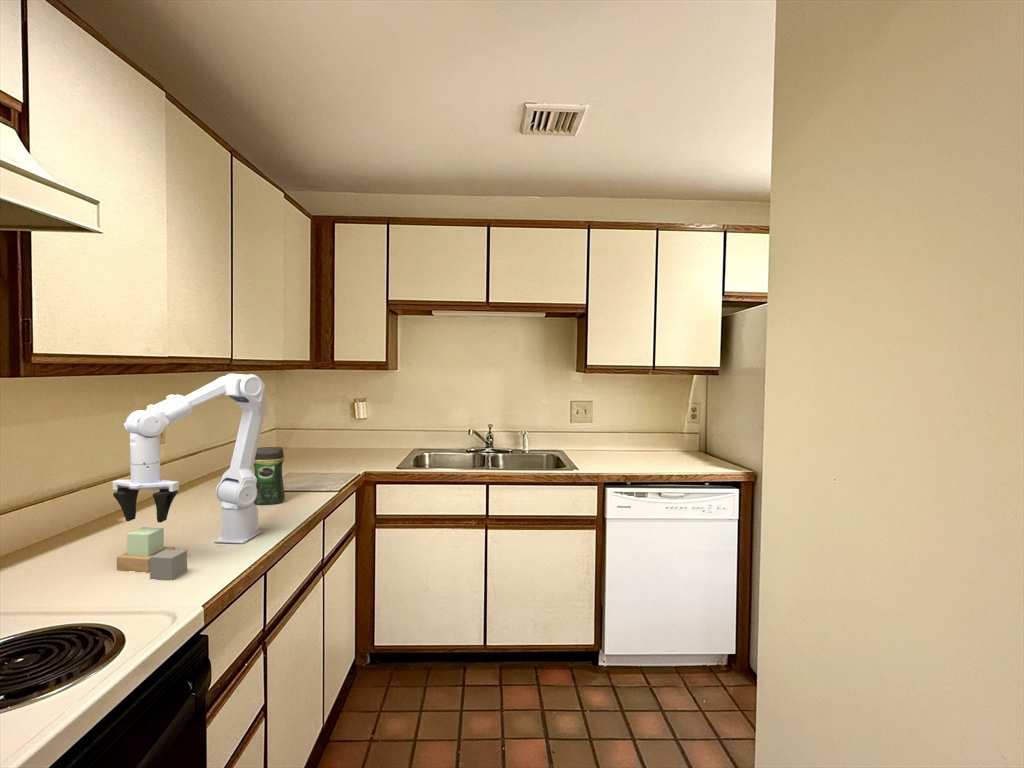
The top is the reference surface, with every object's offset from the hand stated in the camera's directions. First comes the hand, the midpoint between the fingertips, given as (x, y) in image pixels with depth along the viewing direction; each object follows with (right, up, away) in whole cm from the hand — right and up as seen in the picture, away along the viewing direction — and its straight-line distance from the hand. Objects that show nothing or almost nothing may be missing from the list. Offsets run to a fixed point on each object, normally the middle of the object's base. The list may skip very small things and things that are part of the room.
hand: (146, 520), depth 127 cm
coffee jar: (+3, -8, +56) cm, 57 cm away
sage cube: (0, -7, 0) cm, 7 cm away
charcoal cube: (+9, -11, -5) cm, 15 cm away
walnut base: (0, -11, 0) cm, 11 cm away
